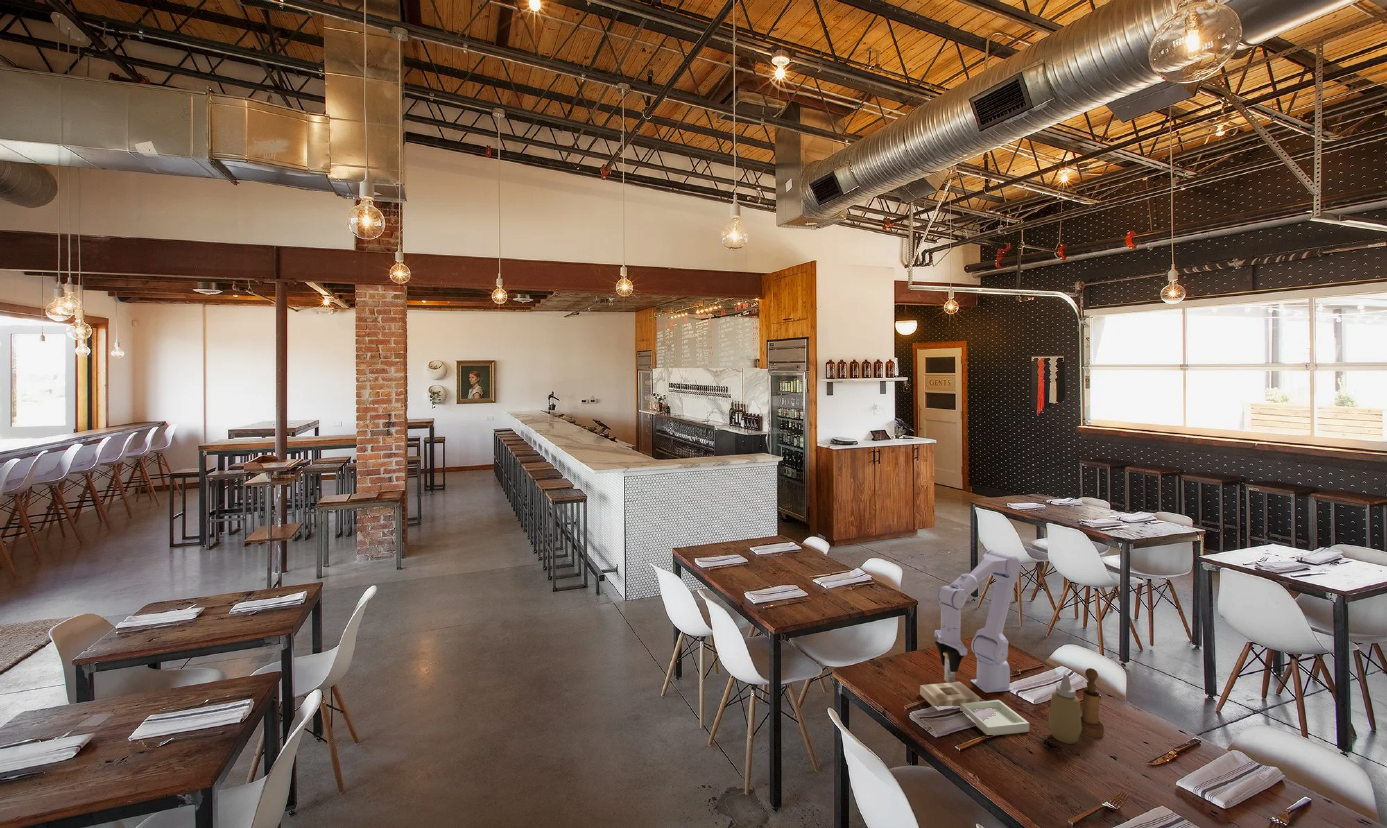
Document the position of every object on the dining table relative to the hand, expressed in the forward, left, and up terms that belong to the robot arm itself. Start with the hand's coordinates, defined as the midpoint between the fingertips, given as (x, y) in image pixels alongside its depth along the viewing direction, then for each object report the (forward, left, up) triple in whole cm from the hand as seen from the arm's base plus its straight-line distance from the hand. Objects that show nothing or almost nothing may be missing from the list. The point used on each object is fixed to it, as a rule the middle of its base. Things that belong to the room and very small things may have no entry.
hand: (949, 668), depth 189 cm
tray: (-6, +13, -10) cm, 18 cm away
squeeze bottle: (-20, +24, -11) cm, 33 cm away
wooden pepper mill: (-30, +22, -11) cm, 39 cm away
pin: (0, 0, -4) cm, 4 cm away
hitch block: (0, 0, -10) cm, 10 cm away
